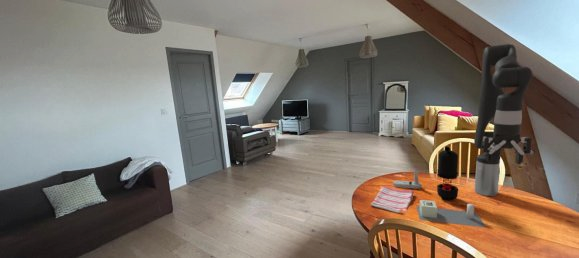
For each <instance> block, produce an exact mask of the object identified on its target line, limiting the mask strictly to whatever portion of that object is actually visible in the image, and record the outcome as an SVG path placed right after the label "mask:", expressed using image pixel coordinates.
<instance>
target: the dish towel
mask: <svg viewBox="0 0 579 258" xmlns="http://www.w3.org/2000/svg"><path fill="white" fill-rule="evenodd" d="M413 197H414V189H413V190H412V189H411V190H406V189H405V190H404V189H403V190H402V189H396V188H391V187H389V186H386V185H384V186H382V187H381V188H380V190H379V192H378V193H377V195H376V196H375V198H374V200H373V201H372V202H371V203H370V206H371V207H374V208H376V209H381V210H386V211H387V212H388V211H389V212H391V213H395V214H402V215H406V213H403V212H402V211H404V212H407V211H408V207H409V206H410V204H411V203H412V201H413V199H414V198H413ZM401 210H402V211H401Z"/></svg>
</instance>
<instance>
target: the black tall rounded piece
mask: <svg viewBox="0 0 579 258" xmlns="http://www.w3.org/2000/svg"><path fill="white" fill-rule="evenodd" d="M437 159H438V160H437V161H438V162H437V170H436V171H437V173H436V174H437V175H436V176H437V177H438V178H441V179H442V183H439V184H437V186H436V187H437V188H436V189H437V190H436V193H437V195H438V196H439V198H441V199H444V200H446V201H452V200H456V199H457V197H458V196H459V195H458V194H459V188H458V186H456V185H453V184H452V180H455V179H457V178H458V162H459V161H458V160H459V155H458V153H457V152H456V151H454V150H451V147H449V146H445V147H444V149H443V150H441V151H440V152H439V153H438V158H437ZM447 181H448V182H447Z"/></svg>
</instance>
